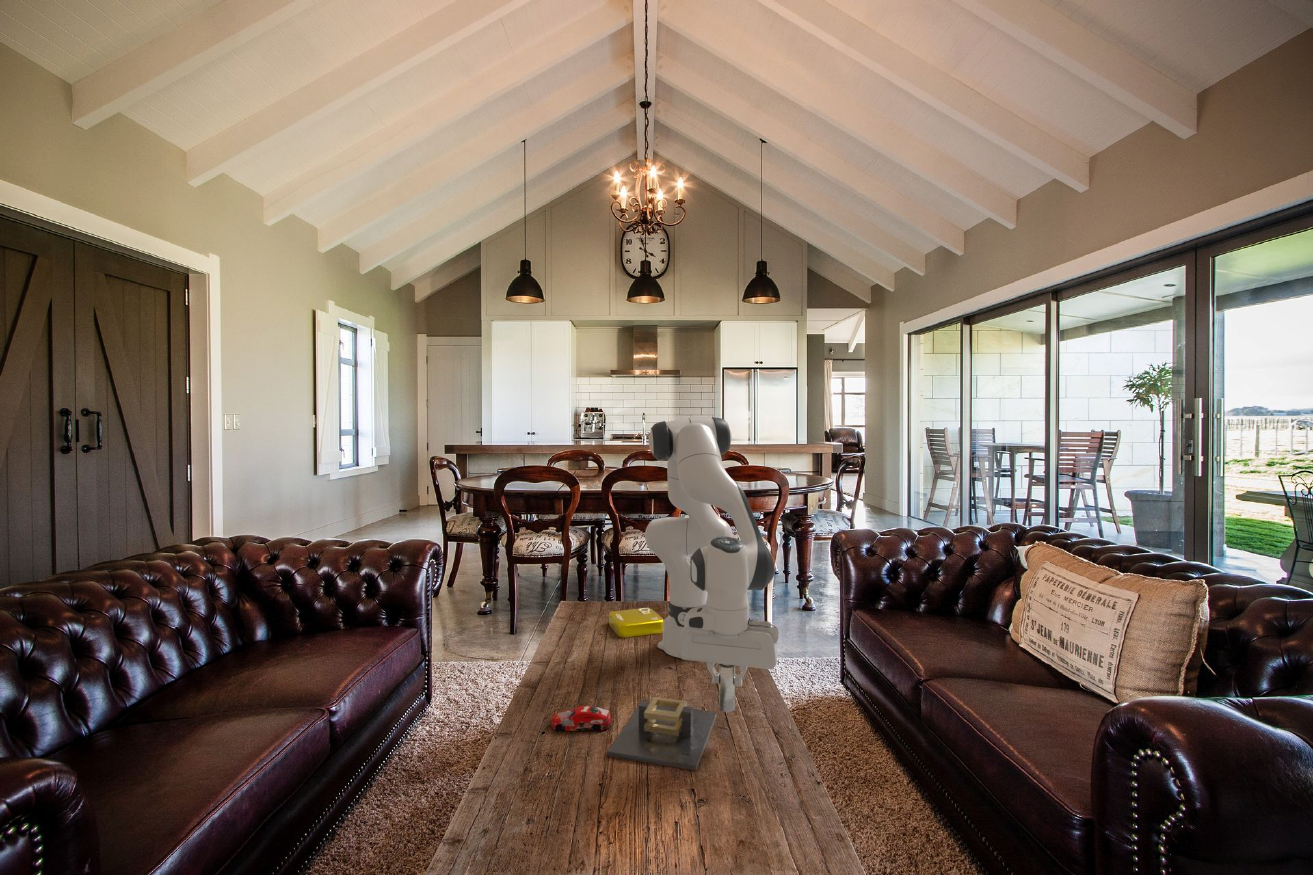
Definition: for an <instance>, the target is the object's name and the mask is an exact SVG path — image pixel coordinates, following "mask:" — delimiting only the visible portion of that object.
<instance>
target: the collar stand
mask: <svg viewBox="0 0 1313 875" xmlns="http://www.w3.org/2000/svg"><path fill="white" fill-rule="evenodd" d="M717 715H718V712H717V711H713V710H707V709H706V710H705V709H697V708H694V707H692V706H688V701H687V700H682V699H681V700H680V699H673V698H666V697H658V696H653V697H652V699H651V701H647V700H646V701H645V700H641V701H640V703H639V705H638V706H637V707H636V709H635V710H634V712H633V713H632V715H631V716H630V718H629V719H628V721H627V722H626V723H625V725H624V726H623V728H622V730H621V731H620V732H619V734H618V735H617V737H616V738H615V739H614V742H613V743H612V745H610V747H609V749H608V750H607V757H609V758H616V759H623V760H628V761H634V762H639V763H640V762H641V763H647V764H653V765H659V766H664V767H665V766H666V767H669V768H670V767H671V768H676V769H677V768H679V769H683V770H689V771H690V770H691V771H696V772H697V770H698V768H699V766H700V765H699V764H700V763H701V759H702V757H703V754H704V752H705V749H706V746H707V743H708V741H709V739H710V735H711V733H712V730H713V728H714V725H715V722H716V720H717Z"/></svg>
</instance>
